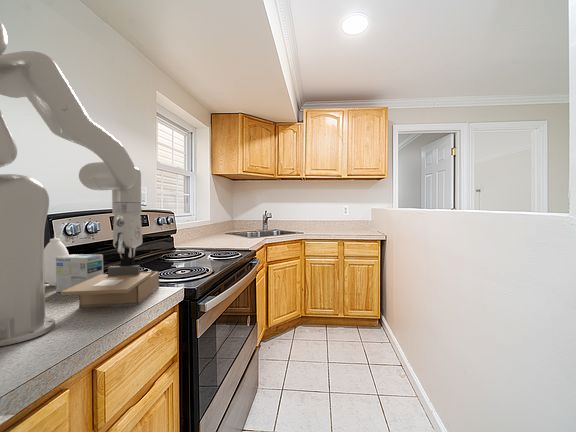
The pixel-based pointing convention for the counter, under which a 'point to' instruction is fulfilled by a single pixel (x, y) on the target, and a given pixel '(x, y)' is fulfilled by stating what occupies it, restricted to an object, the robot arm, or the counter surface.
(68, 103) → the robot arm
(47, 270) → the sauce bottle
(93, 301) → the mailer box
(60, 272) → the light bulb box
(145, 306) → the counter surface
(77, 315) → the counter surface
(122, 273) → the lid
